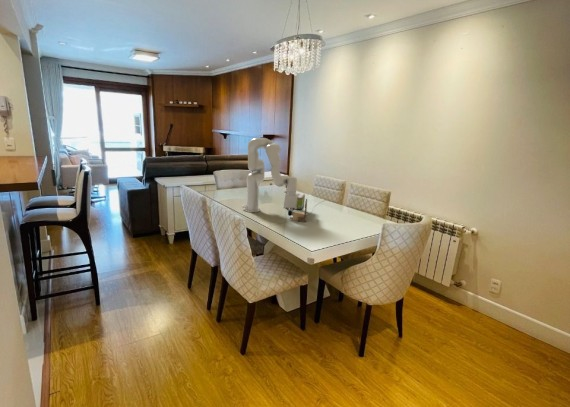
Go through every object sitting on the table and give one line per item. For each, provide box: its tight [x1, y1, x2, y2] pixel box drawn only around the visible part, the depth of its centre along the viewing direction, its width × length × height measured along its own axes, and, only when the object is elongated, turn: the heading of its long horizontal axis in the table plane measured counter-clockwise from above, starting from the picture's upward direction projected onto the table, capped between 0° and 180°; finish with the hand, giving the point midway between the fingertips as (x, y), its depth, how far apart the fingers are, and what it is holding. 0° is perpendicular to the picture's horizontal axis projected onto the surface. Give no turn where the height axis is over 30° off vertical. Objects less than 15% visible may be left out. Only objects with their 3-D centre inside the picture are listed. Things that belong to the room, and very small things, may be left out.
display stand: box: [297, 198, 308, 223], centre depth 240 cm, size 6×19×14 cm, turn 175°
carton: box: [292, 210, 305, 221], centre depth 241 cm, size 9×12×5 cm
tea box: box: [289, 192, 306, 215], centre depth 257 cm, size 15×10×15 cm, turn 168°
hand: (289, 215), depth 242 cm, fingers closed
